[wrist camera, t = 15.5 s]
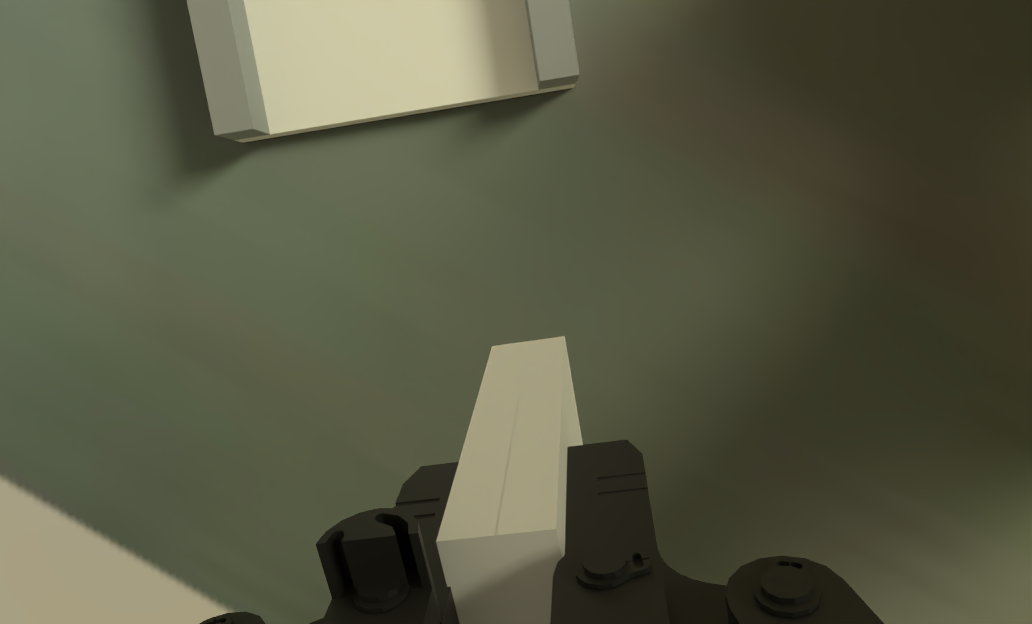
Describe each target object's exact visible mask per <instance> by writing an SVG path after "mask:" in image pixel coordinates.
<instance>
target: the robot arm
mask: <svg viewBox="0 0 1032 624" xmlns="http://www.w3.org/2000/svg"><path fill="white" fill-rule="evenodd" d="M316 546H317V550H318V553H319V556H320V560H321V563H322V566H323V570H324V573H325V576H326V579H327V583H328V586H329V589H330V593H331V596H332V600H331V603H330V605H329V607H328V609H327V612H326V614H325V616H324V618H322V619H319V620H317V621H315V622H312V623H310V624H884V623H883V622H882V621H881V620H880V619H879V618H878V617H877V615H876V614H875V613H874V612H873V611H872V610H871V609H870V608H869V607H868V606H867V605H866V603H865V602H864V601H863V600H862V599H861V598H860V597H859V596H858V595H857V594H856V593H855V591H854V590H853V589H852V588H851V587H850V586H849V585H848V584H847V583H846V582H845V581H844V579H842V578H841V577H840V576H838V575H837V574H836V573H834V572H833V571H832V570H830V569H829V568H828V567H827V566H824V565H821V564H818V563H816V562H813V561H810V560H808V559H805V558H796V557H788V556H776V557H768V558H760V559H757V560H755V561H753V562H750V563H748V564H746V565H743V566H741V567H740V568H739V569H738V570H737V571H736V572H735V573H734V574H733V575H732V576H731V577H730V578H729V581H728V584H727V586H725V585H718V584H710V583H706V582H701V581H697V580H693V579H690V578H688V577H686V576H683V575H681V574H679V573H677V572H676V571H674V570H673V569H672V568H670V567H669V566H668V565H667V564H666V563H665V562H664V561H663V559H662V558H661V557H660V554H659V551H658V549H657V544H656V538H655V531H654V525H653V519H652V513H651V506H650V500H649V494H648V488H647V481H646V475H645V469H644V463H643V456H642V453H641V452H640V451H638V450H637V449H636V448H635V447H634V446H633V445H632V444H631V443H630V442H629V441H628V440H620V441H612V442H604V443H595V444H587V445H583V443H582V437H581V431H580V425H579V419H578V413H577V407H576V401H575V395H574V389H573V383H572V377H571V371H570V365H569V359H568V353H567V347H566V341H565V336H562V337H555V338H548V339H540V340H533V341H526V342H519V343H512V344H504V345H497V346H492V348H491V352H490V355H489V359H488V362H487V366H486V369H485V373H484V376H483V380H482V383H481V387H480V390H479V394H478V397H477V401H476V404H475V408H474V411H473V415H472V418H471V422H470V425H469V429H468V432H467V435H466V439H465V442H464V446H463V449H462V453H461V456H460V460H459V462H455V463H447V464H439V465H430V466H422V467H420V468H419V469H418V470H417V471H416V472H415V473H414V474H413V475H412V476H411V477H410V478H409V479H408V480H407V481H406V482H405V483H404V484H403V486H402V488H401V491H400V493H399V496H398V498H397V501H396V507H394V508H379V509H374V510H370V511H365V512H361V513H358V514H356V515H354V516H351V517H349V518H347V519H344V520H342V521H340V522H339V523H338V524H336V525H335V526H333V527H332V528H330V529H329V530H328V531H326V532H325V533H324V535H323V536H322V537H321V538H320V540H319V541H318V542H317V543H316ZM200 624H265V623H264V621H263V620H262V619H261V617H260V616H258V615H255V614H251V613H248V612H235V613H226V614H223V615H220V616H217V617H213V618H210V619H207V620H205V621H203V622H202V623H200Z"/></svg>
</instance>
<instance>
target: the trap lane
mask: <svg viewBox="0 0 1032 624" xmlns="http://www.w3.org/2000/svg"><path fill="white" fill-rule="evenodd" d="M187 5H188V10H189V14H190V19H191V24H192V29H193V34H194V39H195V43H196V48H197V53H198V58H199V63H200V68H201V72H202V77H203V82H204V87H205V92H206V97H207V102H208V106H209V111H210V116H211V121H212V126H213V131H214V135H215V136H219V137H223V138H227V139H230V140H234V141H238V142H242V143H244V142H250V141H256V140H262V139H268V138H274V137H280V136H286V135H292V134H298V133H304V132H310V131H316V130H323V129H329V128H335V127H341V126H347V125H353V124H359V123H365V122H371V121H377V120H383V119H389V118H395V117H401V116H407V115H413V114H419V113H425V112H431V111H437V110H443V109H449V108H455V107H461V106H467V105H473V104H479V103H485V102H491V101H497V100H503V99H509V98H515V97H521V96H527V95H533V94H539V93H545V92H551V91H557V90H563V89H569V88H574V86H575V83H576V81H577V79H578V77H579V68H578V61H577V54H576V48H575V41H574V34H573V27H572V20H571V14H570V7H569V0H187Z"/></svg>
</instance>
